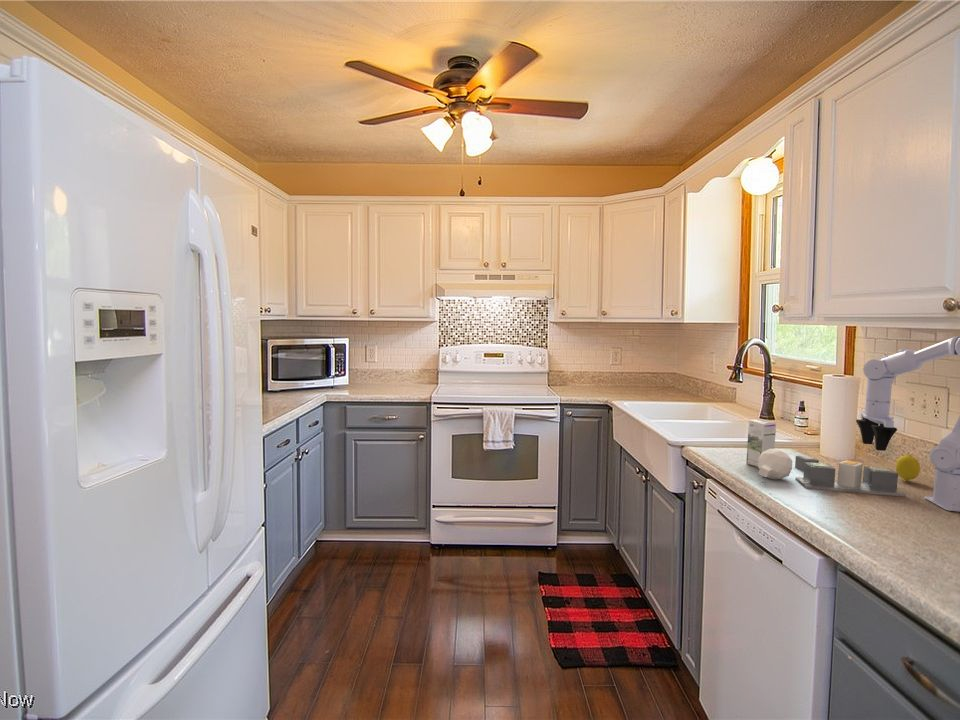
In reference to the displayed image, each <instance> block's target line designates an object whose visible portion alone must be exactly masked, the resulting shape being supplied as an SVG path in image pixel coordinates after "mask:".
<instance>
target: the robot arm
mask: <svg viewBox="0 0 960 720" xmlns="http://www.w3.org/2000/svg"><path fill="white" fill-rule="evenodd" d="M952 355H953V356H960V335H957V336H952V337H951V338H949V339H946V340H943V341H940V342H938V343H935V344H933V345H930V346H927V347H925V348H922V349H920V350H914V349H907V348H901V349H899V350H898V352H897V353H894V354H891V355H889V354H888V355H887V354H886V355H882V358H881V359H876V358H871V359H869V360H867V362H865V363H864V365H863V369H862V370H863V375H864V376H865V377H866V378H867V379H866V392H865V403H864V404H865V406H864V411H862V410H861V411H860V415H859V418H861V419H856V420H855V422H856V423H857V425H858V428H859V431H860V435H861V440H862V444H863V445H873V442H874V444H875V445H874V446H875V447H874V448H875V450H876V451H883V452H885V451H886V450H887V448H888V446H889V443H890V441H891V439H892V437H893V436H894V435H895V433H897V431H898V428H897V427H894V425H895V421H894V418H895V417H894V416H890V412H891V411H890V410H891V401H892V400H891V398H892V387H893V384H894V380H895V379H896V377H897V376H899V375H903V374H906V373H909V372H914V371H916V370H918V369H920V368H921V367H922V365H923V363H926V362H930V361H934V360H937V359H941V358H946V357H948V356H949V357H950V356H952ZM929 459H930V460H929V461H930V462H931V464H932V465H933V466H934V470H935V471H934V472H935V473H934V481H933V482H934V484H933V493H932V496H924V499H925V500H928V501H930V502H931V503H932V504H934V505H936V506H938V507H940V508H942V509H944V510H945V511H949V512H950V511H951V512H959V513H960V415H959V417H958V419H957V420H956V422H955V425H954V427H953V429H952V430H951V432H950V433H948V434H947V435H945V436H944V437H943V438H942V439H941V440H940V442H939V444H938V445H936V446H934V447H933V448H932V449H931V451H930V453H929Z"/></svg>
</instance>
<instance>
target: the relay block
mask: <svg viewBox="0 0 960 720" xmlns="http://www.w3.org/2000/svg"><path fill="white" fill-rule="evenodd" d="M804 462H811V463H820V460H819V459H817V458H815V457H812V456H810V455H795V461H794V463H795V464H794V469H796V470H799V471H801V472H803V473H804Z"/></svg>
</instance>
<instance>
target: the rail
mask: <svg viewBox="0 0 960 720" xmlns="http://www.w3.org/2000/svg"><path fill="white" fill-rule="evenodd" d="M836 469H837V468H835V467H834V466H832V465H831V464H829V463H822V462H819V463H811V462H804V472H803V475H802V477H800V476H799V477H798V476H795V480H794V481H796V482H797V483H799V484H800V485H801V486H802V487H803V488H805V489H807V490H818V491H820V490H821V491H832V492H844V493H857V494H868V495H880V496H893V497H903V498H904V497H907V493H906V492H904V491H902V490H900V489H899V488H898V481H899V475H898V473H897V472H896V470H895V471H894V470H892V469H891V468H889V467H878V466H877V467H876V466H863V470H862V481H861V485H859V486H857V487H854V488H853V487H849V486H844V485H840V484H837V481H838V479H837V480H836Z"/></svg>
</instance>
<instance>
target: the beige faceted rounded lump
mask: <svg viewBox="0 0 960 720" xmlns="http://www.w3.org/2000/svg"><path fill="white" fill-rule="evenodd" d="M757 468H758V469H759V470H758V472H757V473H758V475H760V476H762V477H765V478H768V479H770V480H781V479H783V478H787V477H788V476H790V474H791V472H792V470H793V459H792V458H791V457H790V454H788V453H787V452H785V451H784V450H781V449H779V448H775V449H768V450H766V451H764V452H762V453H761V455H760V457H759V459H758V467H757Z"/></svg>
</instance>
